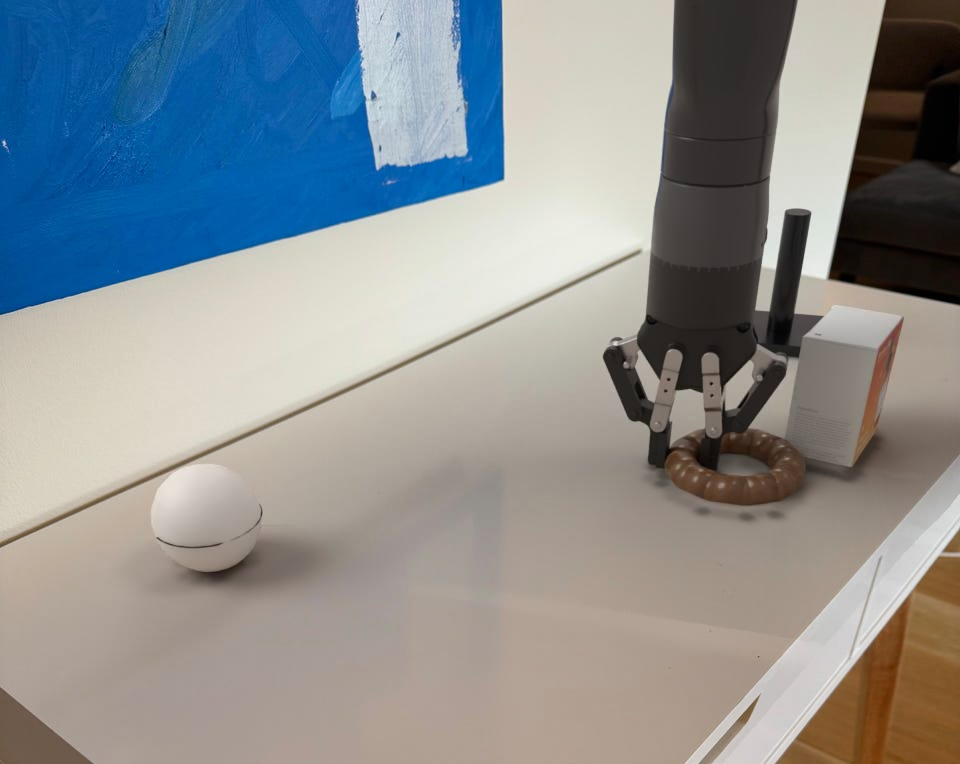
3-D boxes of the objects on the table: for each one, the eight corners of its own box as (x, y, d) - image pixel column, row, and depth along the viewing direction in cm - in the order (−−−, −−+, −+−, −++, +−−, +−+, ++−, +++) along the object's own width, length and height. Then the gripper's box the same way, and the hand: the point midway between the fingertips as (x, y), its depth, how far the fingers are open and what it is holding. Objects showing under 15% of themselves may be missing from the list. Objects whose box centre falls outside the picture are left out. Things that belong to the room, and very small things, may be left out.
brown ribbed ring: (806, 457, 80) (811, 429, 79) (797, 522, 73) (803, 493, 71) (675, 442, 83) (678, 415, 81) (654, 504, 75) (656, 475, 74)
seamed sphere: (140, 579, 69) (114, 484, 65) (207, 527, 75) (187, 436, 70) (260, 613, 66) (241, 516, 61) (321, 556, 71) (308, 463, 67)
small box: (848, 481, 78) (878, 349, 71) (778, 464, 80) (801, 335, 74) (876, 440, 83) (907, 314, 77) (809, 425, 86) (833, 302, 79)
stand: (825, 327, 103) (850, 201, 96) (821, 361, 96) (847, 228, 89) (736, 319, 105) (753, 196, 98) (726, 352, 99) (743, 222, 91)
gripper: (593, 255, 67) (584, 484, 78) (810, 270, 64) (769, 508, 74) (616, 223, 73) (604, 441, 83) (816, 235, 69) (777, 462, 80)
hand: (682, 472), depth 79 cm, fingers closed on brown ribbed ring, 2 cm apart
